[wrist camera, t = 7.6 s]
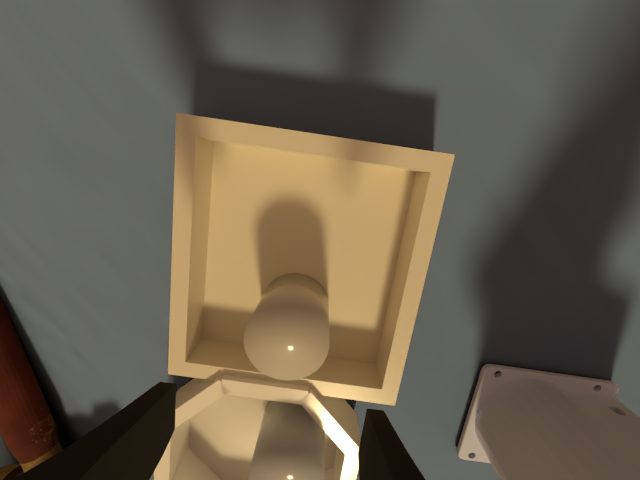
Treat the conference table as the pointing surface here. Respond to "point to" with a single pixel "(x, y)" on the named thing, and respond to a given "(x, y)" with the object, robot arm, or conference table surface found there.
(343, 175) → the tray
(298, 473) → the stone
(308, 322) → the stone
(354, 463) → the bowl
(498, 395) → the robot arm
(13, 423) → the gavel
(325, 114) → the conference table surface
